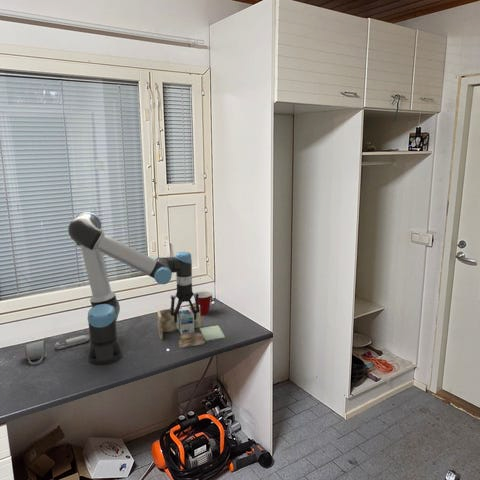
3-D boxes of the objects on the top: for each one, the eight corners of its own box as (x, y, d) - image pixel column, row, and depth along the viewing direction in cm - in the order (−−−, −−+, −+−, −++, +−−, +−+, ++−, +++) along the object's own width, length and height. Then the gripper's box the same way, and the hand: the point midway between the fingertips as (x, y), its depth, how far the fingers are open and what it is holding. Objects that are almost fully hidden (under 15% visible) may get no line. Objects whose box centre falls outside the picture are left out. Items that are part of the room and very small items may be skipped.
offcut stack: (180, 347, 199) (179, 338, 198) (178, 343, 203) (178, 334, 202) (204, 344, 203) (204, 335, 201) (202, 340, 207) (202, 331, 206)
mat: (205, 340, 206) (205, 339, 206) (199, 328, 219) (199, 327, 219) (225, 337, 209) (225, 337, 208) (218, 326, 222) (218, 325, 221)
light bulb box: (194, 334, 206) (194, 313, 204) (181, 336, 204) (180, 315, 202) (189, 325, 216) (188, 305, 214) (176, 327, 214) (175, 307, 211)
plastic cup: (208, 308, 245) (208, 288, 242) (215, 315, 236) (215, 295, 233) (191, 311, 241) (190, 291, 238) (197, 318, 231) (196, 298, 228)
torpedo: (56, 352, 196) (55, 339, 195) (54, 348, 200) (52, 335, 199) (95, 341, 206) (94, 329, 205) (92, 337, 210) (91, 325, 209)
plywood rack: (160, 340, 207) (159, 317, 204) (158, 331, 216) (157, 310, 213) (204, 333, 213) (203, 312, 210) (200, 326, 222) (199, 304, 219)
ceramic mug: (27, 355, 193) (24, 340, 191) (46, 352, 196) (44, 337, 194) (25, 367, 183) (23, 351, 181) (46, 363, 186) (44, 347, 185)
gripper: (164, 287, 198) (166, 332, 203) (205, 283, 204) (206, 327, 209) (162, 282, 205) (164, 325, 210) (202, 279, 211) (203, 321, 216)
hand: (185, 326), depth 210 cm, fingers closed on light bulb box, 7 cm apart
